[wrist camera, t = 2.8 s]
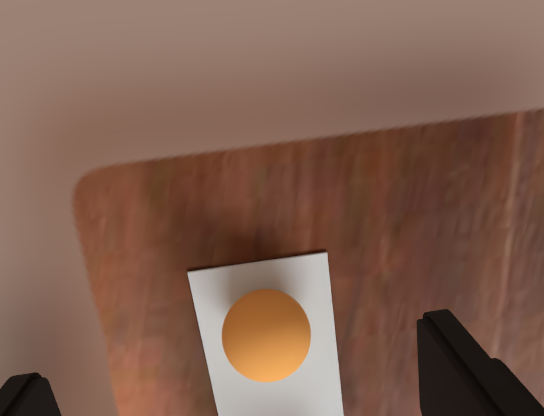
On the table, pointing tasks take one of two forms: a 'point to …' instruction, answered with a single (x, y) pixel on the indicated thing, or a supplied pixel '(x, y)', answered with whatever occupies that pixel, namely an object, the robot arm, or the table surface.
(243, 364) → the ball
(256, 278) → the plate
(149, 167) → the table surface
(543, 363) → the table surface
